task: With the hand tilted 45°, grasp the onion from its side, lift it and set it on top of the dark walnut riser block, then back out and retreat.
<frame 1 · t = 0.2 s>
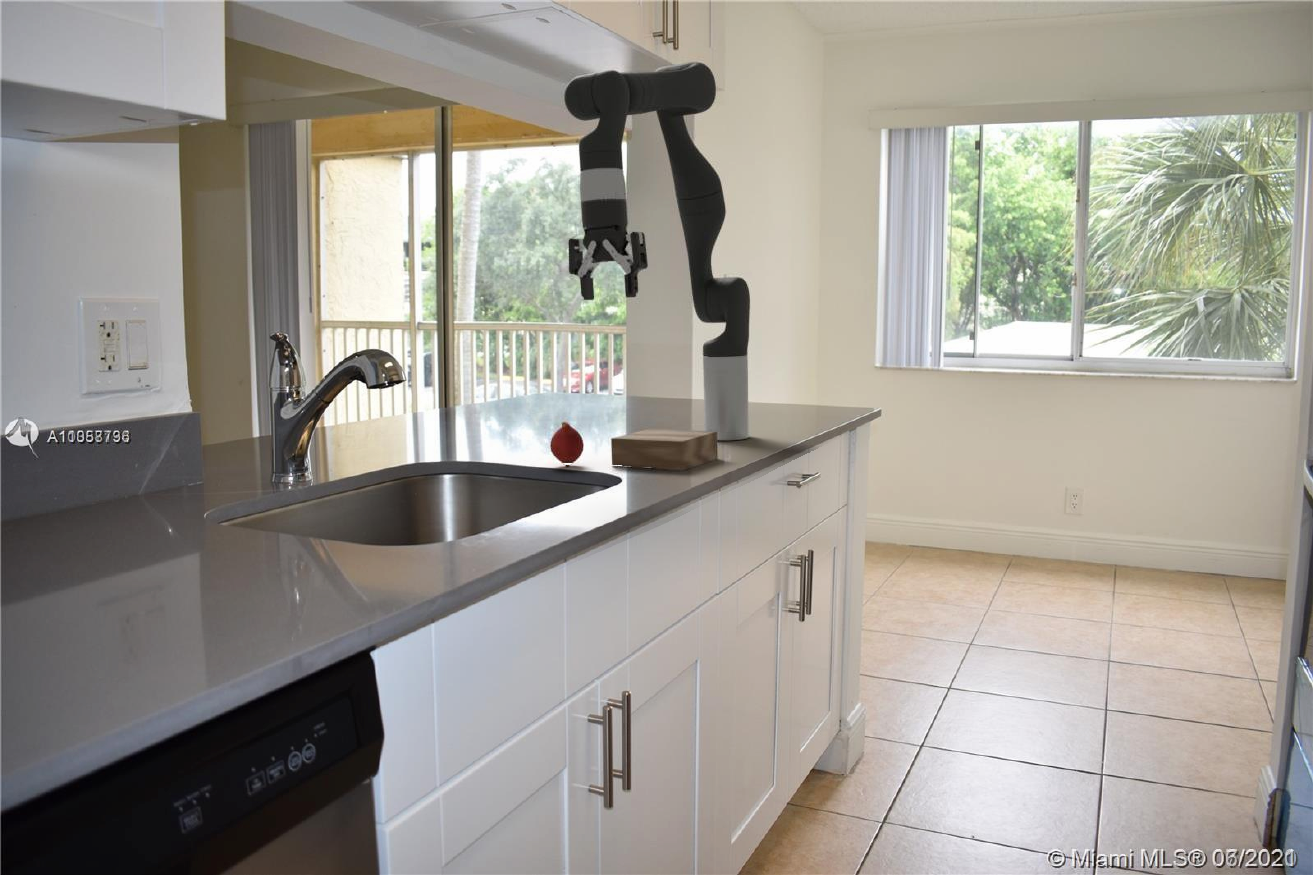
hand: (609, 298, 166), 29 cm above the countertop, tool pointing down, fingers open, 8 cm apart
onion: (568, 467, 178), on the countertop
walnut base: (665, 462, 179), on the countertop
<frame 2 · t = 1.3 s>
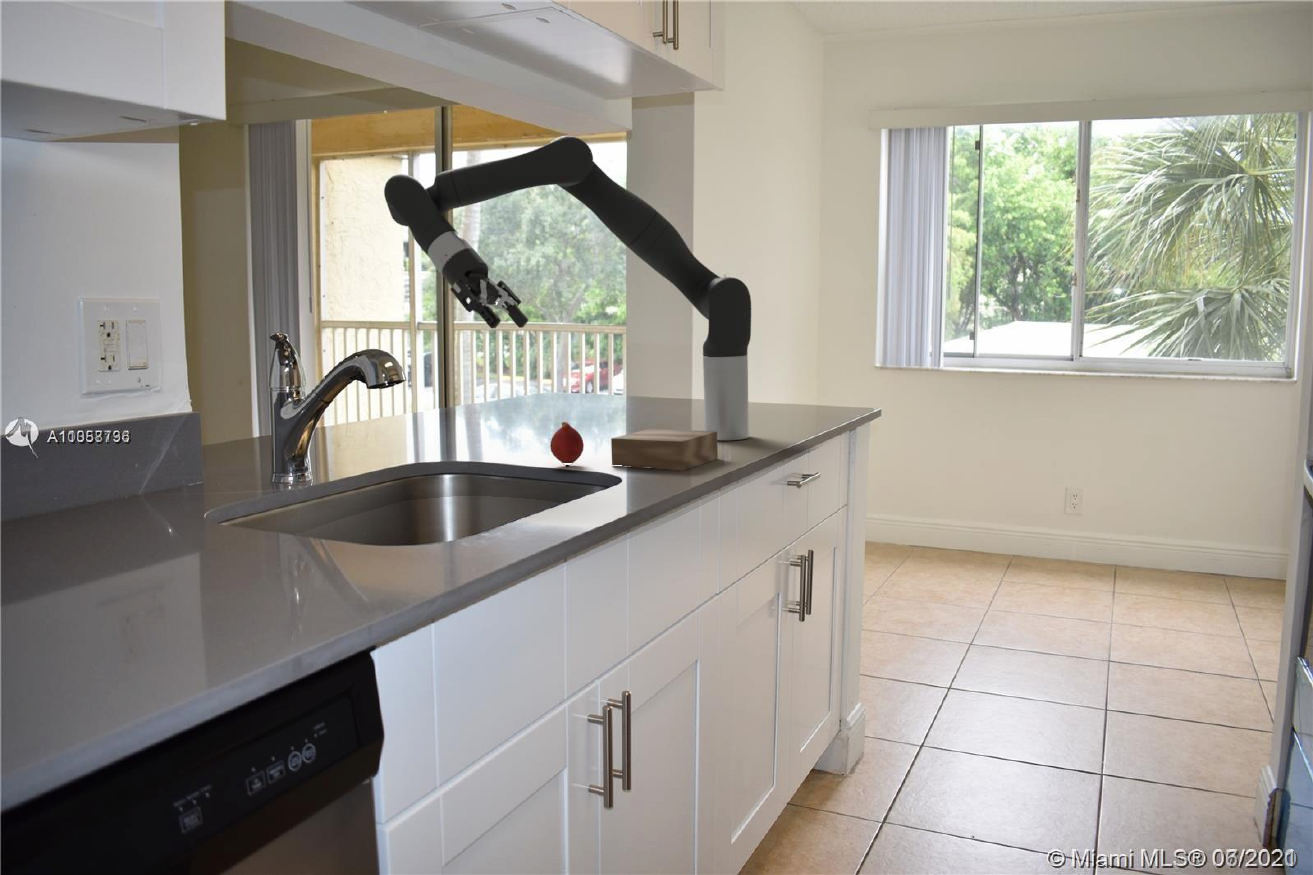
hand: (511, 324, 179), 25 cm above the countertop, tool tilted 45°, fingers open, 8 cm apart
nothing on the countertop moved.
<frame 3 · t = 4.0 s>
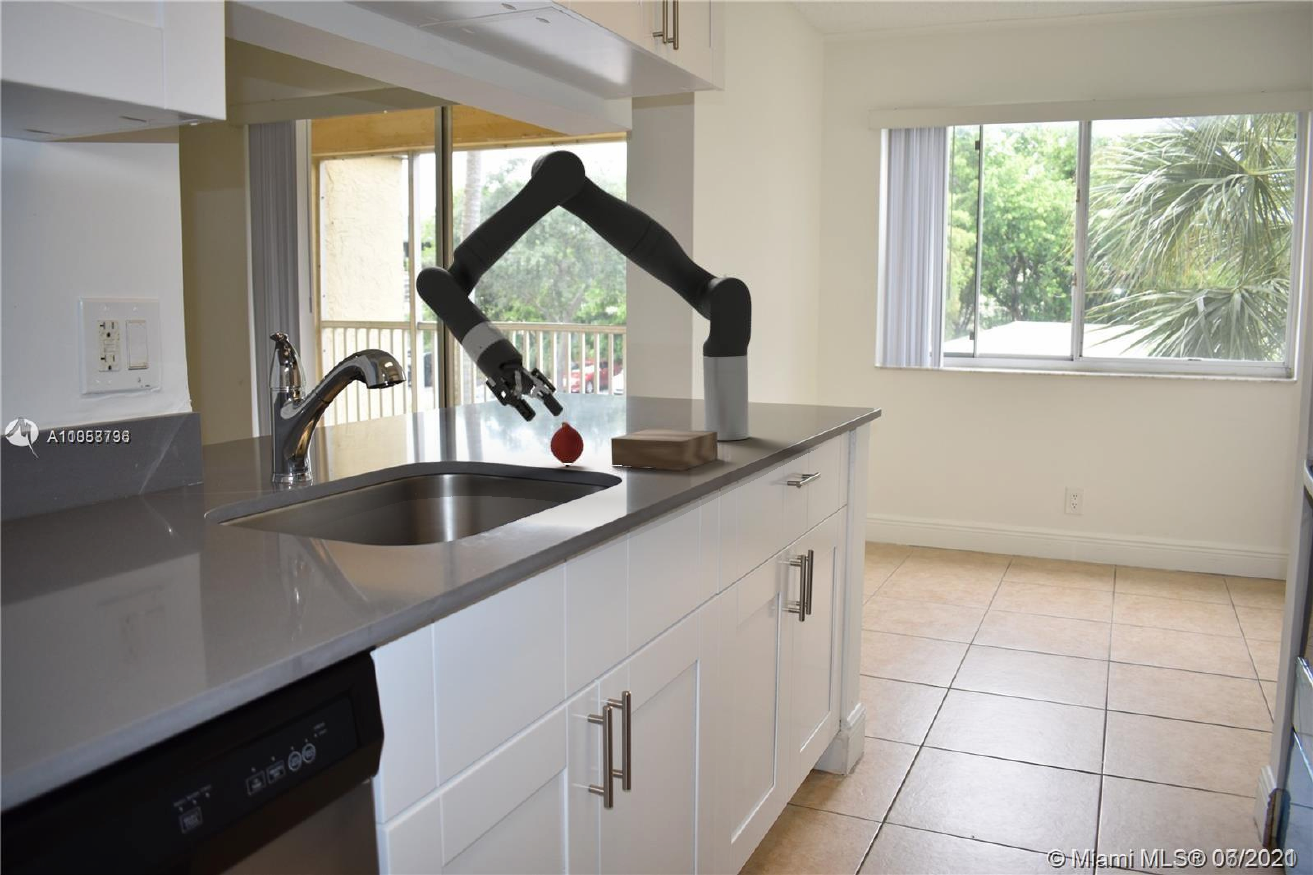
hand: (546, 415, 179), 9 cm above the countertop, tool tilted 45°, fingers open, 8 cm apart
nothing on the countertop moved.
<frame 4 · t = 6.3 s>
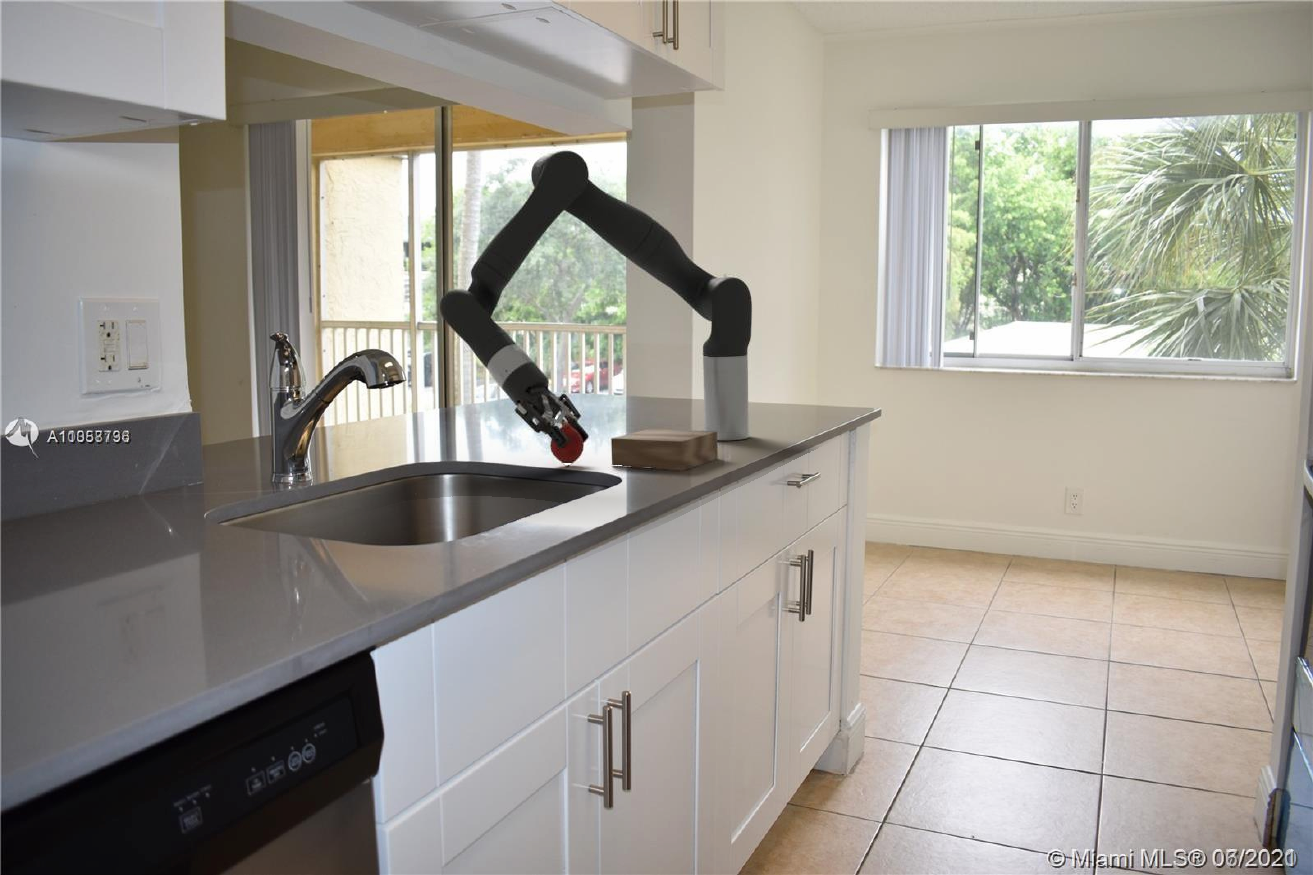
hand: (575, 442, 177), 4 cm above the countertop, tool tilted 45°, fingers closed on onion, 5 cm apart
onion: (568, 467, 178), on the countertop, touching gripper
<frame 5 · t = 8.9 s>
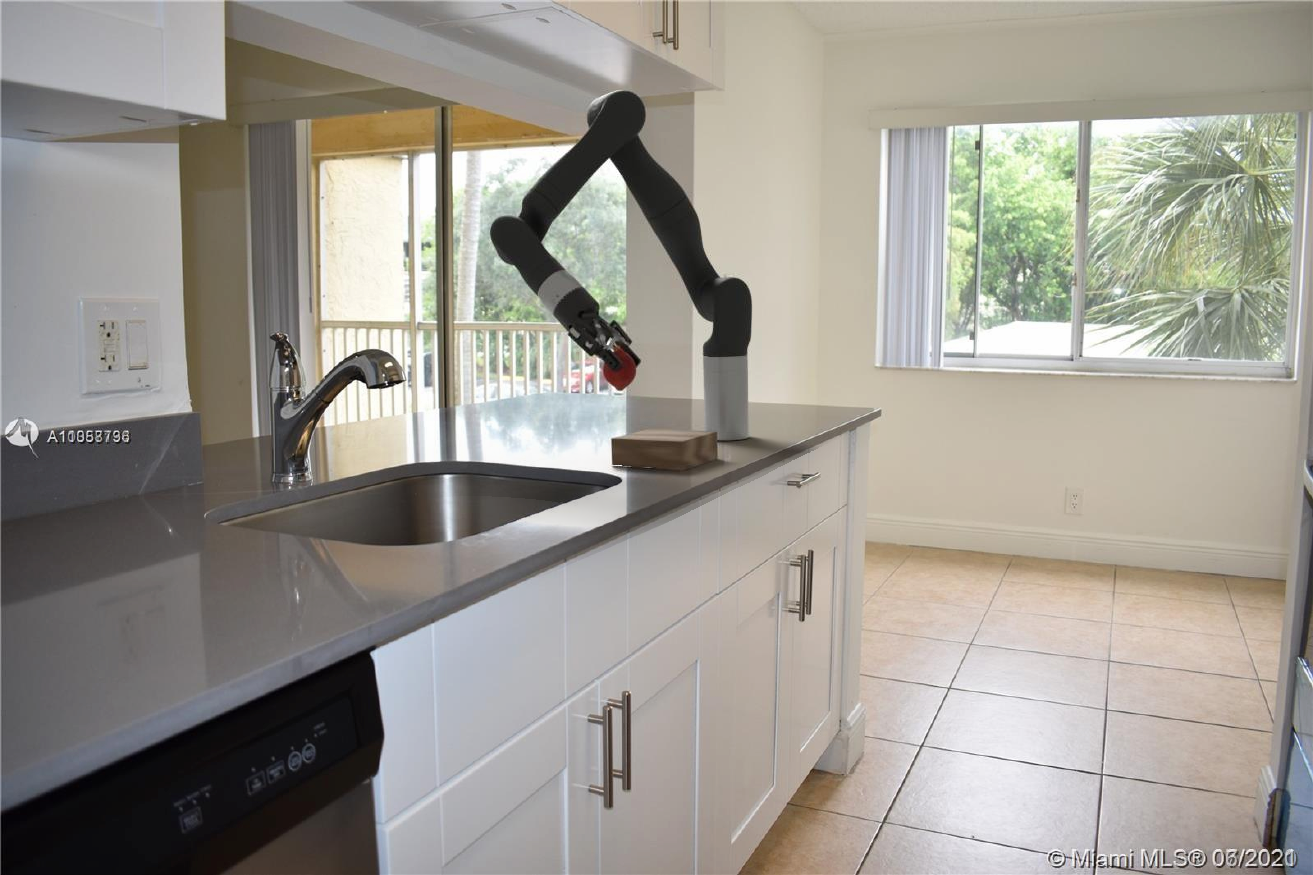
hand: (628, 366, 176), 17 cm above the countertop, tool tilted 45°, fingers closed on onion, 5 cm apart
onion: (620, 391, 177), point 13 cm above the countertop, touching gripper
when the fingers open (11 cm above the countertop, at t = 11.3 s): onion drops 1 cm, resting on walnut base.
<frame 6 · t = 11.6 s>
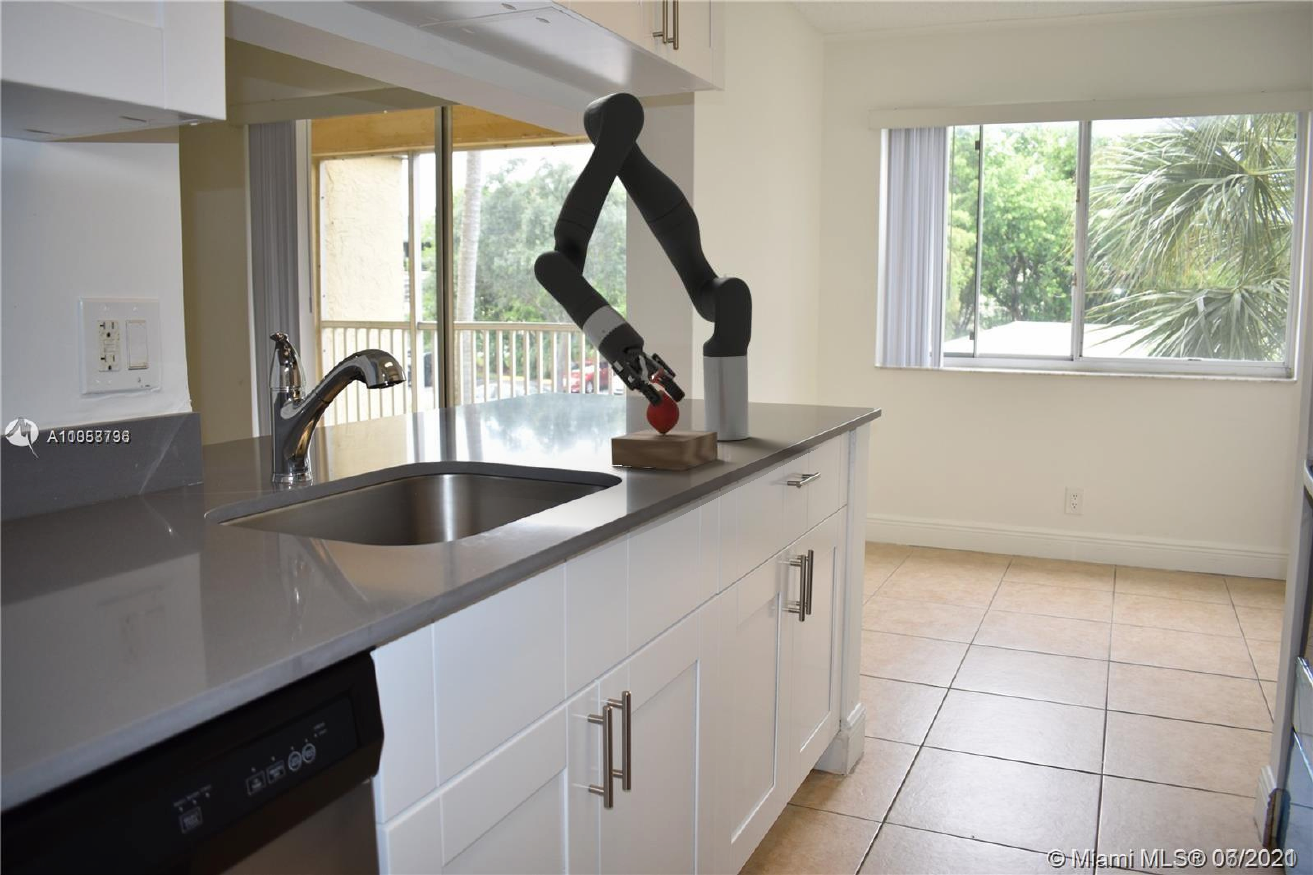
hand: (671, 401, 177), 11 cm above the countertop, tool tilted 45°, fingers open, 8 cm apart
onion: (663, 435, 178), point 5 cm above the countertop, touching walnut base
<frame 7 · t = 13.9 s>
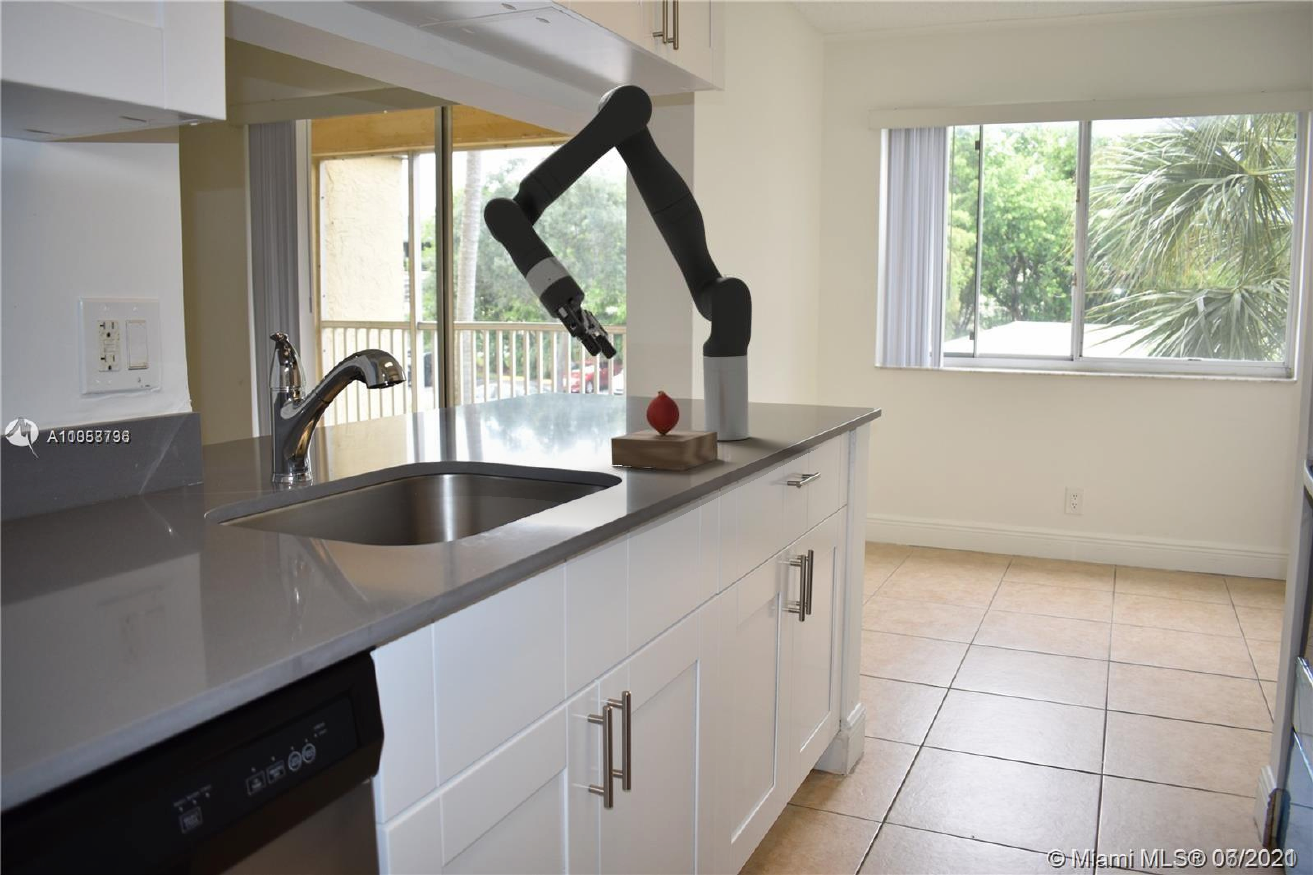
hand: (605, 355, 184), 19 cm above the countertop, tool tilted 40°, fingers open, 8 cm apart
nothing on the countertop moved.
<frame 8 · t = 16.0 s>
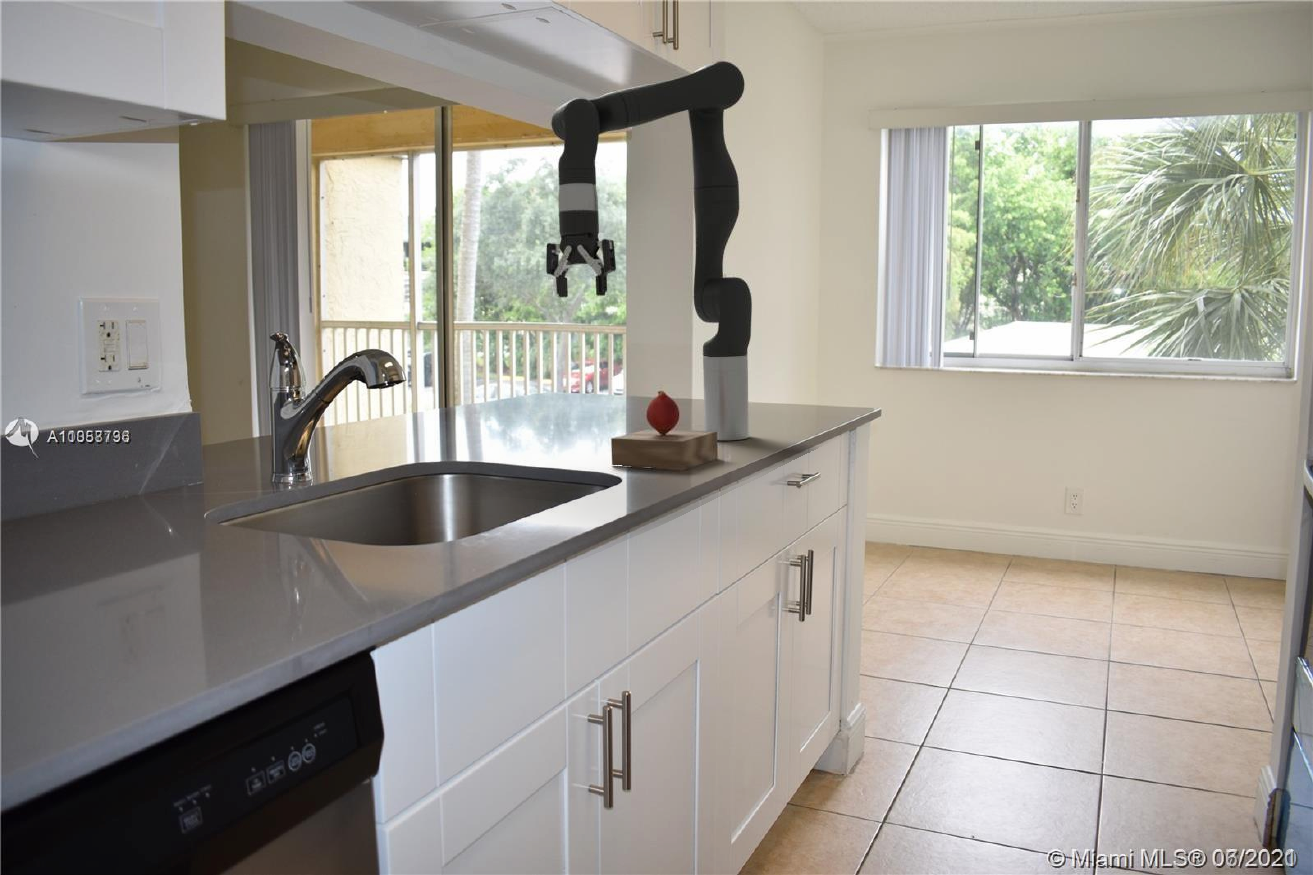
hand: (581, 296, 191), 30 cm above the countertop, tool pointing down, fingers open, 8 cm apart
nothing on the countertop moved.
at the end: onion inside the target area on the walnut base (0.3 cm from its centre), point 4.8 cm above the walnut base's base; the gripper is holding nothing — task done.
